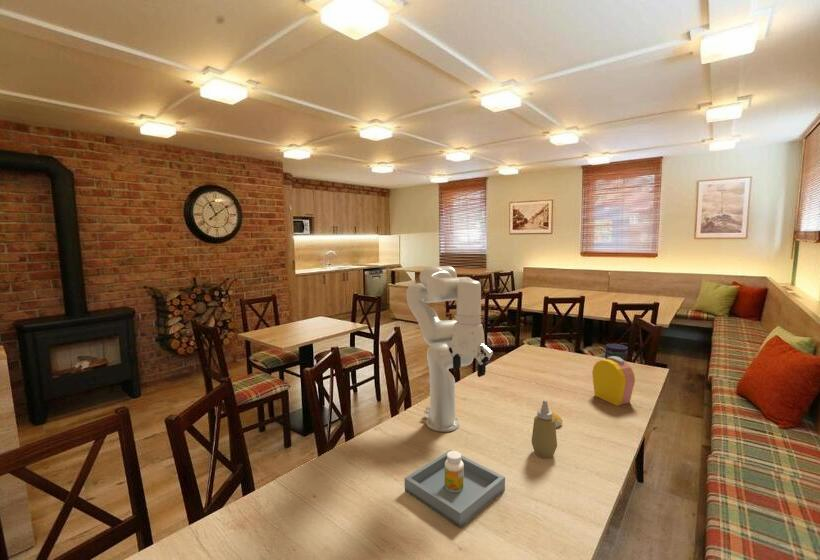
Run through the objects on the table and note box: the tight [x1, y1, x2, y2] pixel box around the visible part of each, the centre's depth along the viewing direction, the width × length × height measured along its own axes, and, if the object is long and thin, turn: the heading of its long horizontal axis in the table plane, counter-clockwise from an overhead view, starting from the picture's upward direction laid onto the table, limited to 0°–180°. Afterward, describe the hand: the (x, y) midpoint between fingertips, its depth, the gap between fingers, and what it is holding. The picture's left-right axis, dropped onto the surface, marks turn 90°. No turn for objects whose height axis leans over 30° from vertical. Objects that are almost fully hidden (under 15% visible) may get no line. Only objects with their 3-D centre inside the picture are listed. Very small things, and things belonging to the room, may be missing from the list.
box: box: [404, 449, 506, 529], centre depth 110 cm, size 20×20×4 cm
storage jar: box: [604, 342, 628, 362], centre depth 195 cm, size 10×10×15 cm
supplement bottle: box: [445, 450, 464, 492], centre depth 110 cm, size 5×5×10 cm
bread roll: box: [550, 410, 563, 428], centre depth 149 cm, size 8×9×4 cm
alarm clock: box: [592, 356, 636, 406], centre depth 167 cm, size 15×8×18 cm, turn 22°
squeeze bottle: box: [531, 399, 558, 459], centre depth 127 cm, size 8×8×18 cm
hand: (468, 371), depth 124 cm, fingers open, 9 cm apart
